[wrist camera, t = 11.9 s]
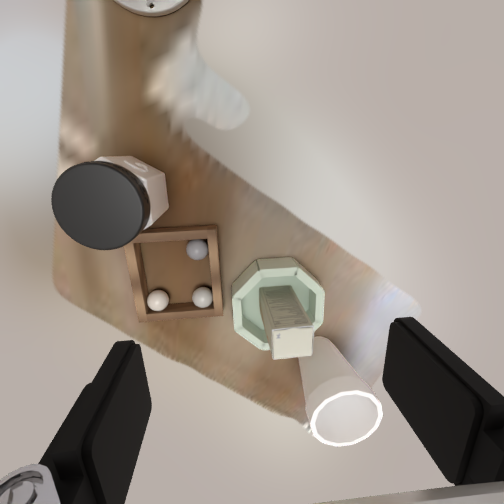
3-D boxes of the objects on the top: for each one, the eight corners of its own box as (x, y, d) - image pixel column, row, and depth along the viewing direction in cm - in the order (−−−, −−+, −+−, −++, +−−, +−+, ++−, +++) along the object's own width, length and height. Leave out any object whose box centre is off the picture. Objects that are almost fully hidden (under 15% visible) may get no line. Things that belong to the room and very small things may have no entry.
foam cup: (334, 376, 50) (369, 447, 38) (283, 372, 49) (303, 445, 37) (349, 330, 47) (392, 392, 35) (296, 325, 46) (321, 387, 34)
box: (259, 311, 44) (269, 360, 34) (258, 286, 43) (269, 329, 32) (292, 309, 44) (313, 357, 34) (293, 284, 43) (315, 326, 32)
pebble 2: (186, 235, 40) (183, 244, 37) (208, 234, 40) (206, 243, 37) (189, 254, 41) (186, 264, 38) (210, 253, 41) (208, 263, 38)
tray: (128, 229, 39) (121, 234, 36) (216, 224, 40) (215, 229, 37) (143, 313, 43) (138, 322, 41) (223, 306, 44) (223, 315, 41)
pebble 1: (153, 305, 43) (149, 287, 42) (172, 304, 43) (169, 285, 42) (145, 315, 40) (142, 296, 39) (167, 314, 40) (163, 294, 39)
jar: (181, 180, 37) (162, 191, 26) (157, 233, 39) (129, 266, 28) (114, 144, 35) (61, 140, 24) (92, 203, 37) (33, 224, 26)
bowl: (229, 261, 41) (230, 271, 38) (317, 255, 42) (326, 265, 39) (234, 336, 46) (235, 352, 42) (314, 329, 47) (321, 345, 43)
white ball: (192, 284, 42) (189, 293, 39) (213, 282, 42) (211, 292, 39) (194, 302, 43) (192, 312, 40) (214, 300, 43) (213, 311, 40)
